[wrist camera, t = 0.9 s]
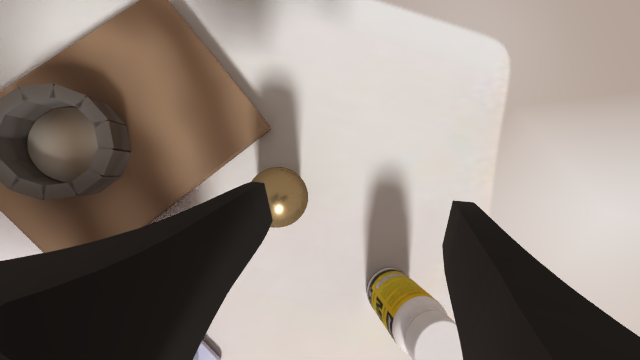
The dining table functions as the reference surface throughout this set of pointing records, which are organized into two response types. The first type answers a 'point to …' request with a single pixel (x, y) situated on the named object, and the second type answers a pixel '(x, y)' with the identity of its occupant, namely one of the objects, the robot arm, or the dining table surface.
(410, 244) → the dining table surface
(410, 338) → the supplement bottle
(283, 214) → the cylinder
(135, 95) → the jig board
